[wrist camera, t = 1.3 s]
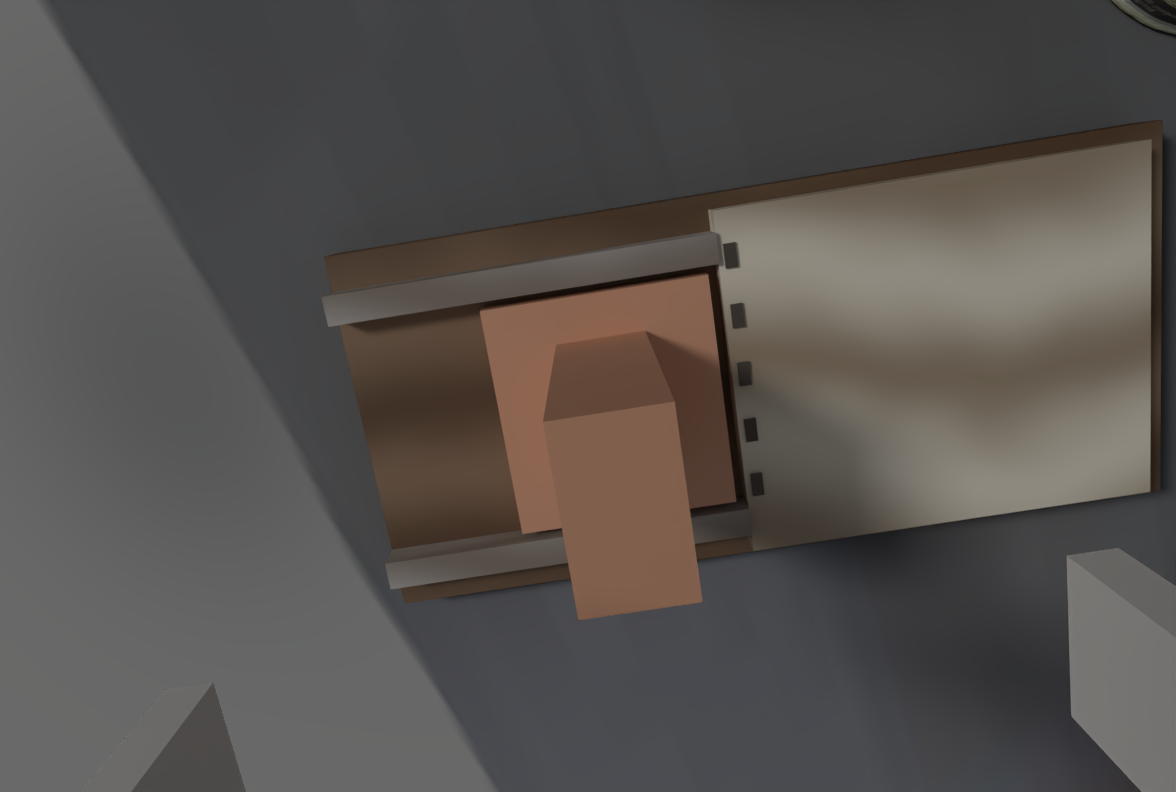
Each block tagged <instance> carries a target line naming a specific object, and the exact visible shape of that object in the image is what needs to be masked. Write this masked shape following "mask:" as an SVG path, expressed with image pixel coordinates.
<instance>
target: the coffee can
mask: <svg viewBox="0 0 1176 792" xmlns="http://www.w3.org/2000/svg"><path fill="white" fill-rule="evenodd" d="M1111 1H1112V2H1113V3H1114V4H1115V5H1116V6H1117V7H1119V8H1120V9H1121V10H1122V11H1124V12H1125V13H1127V14H1128V15H1130V16H1131V17H1132V18H1134V19H1136V20H1137V21H1139V22H1141V23H1142V24H1144V25H1146V26H1149V27H1151V28H1154V29H1156V30H1160V31H1164V32H1167V33H1171V34H1175V35H1176V0H1111Z"/></svg>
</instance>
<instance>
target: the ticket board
mask: <svg viewBox="0 0 1176 792" xmlns="http://www.w3.org/2000/svg"><path fill="white" fill-rule="evenodd" d="M1162 131H1163V120H1157V121H1148V122H1139V123H1131V124H1125V125H1119V126H1113V127H1107V128H1100V129H1094V130H1088V131H1082V132H1076V133H1070V134H1064V135H1058V136H1052V137H1046V138H1039V139H1033V140H1027V141H1021V142H1015V143H1009V144H1003V145H997V146H991V147H984V148H978V149H972V150H966V151H960V152H954V153H948V154H942V155H936V156H929V157H923V158H917V159H911V160H905V161H899V162H893V163H887V164H881V165H874V166H868V167H862V168H856V169H850V170H844V171H838V172H832V173H826V174H820V175H813V176H807V177H801V178H795V179H789V180H783V181H777V182H771V183H765V184H758V185H752V186H746V187H740V188H734V189H728V190H722V191H716V192H710V193H703V194H697V195H691V196H685V197H679V198H673V199H667V200H661V201H655V202H648V203H642V204H636V205H630V206H624V207H618V208H612V209H606V210H600V211H594V212H587V213H581V214H575V215H569V216H563V217H557V218H551V219H545V220H539V221H532V222H526V223H520V224H514V225H508V226H502V227H496V228H490V229H484V230H477V231H471V232H465V233H459V234H453V235H447V236H441V237H435V238H429V239H422V240H416V241H410V242H404V243H398V244H392V245H386V246H380V247H374V248H368V249H361V250H355V251H349V252H343V253H337V254H333V255H330V256H326V257H324V261H325V265H326V269H327V273H328V278H329V282H330V286H331V291H332V293H329V294H327V295H325V296H322V297H321V298H322V302H323V306H324V310H325V315H326V319H327V323H328V327H330V326H337V325H340V329H341V333H342V337H343V342H344V346H345V350H346V355H347V359H348V363H349V367H350V372H351V376H352V380H353V384H354V389H355V393H356V397H357V402H358V406H359V410H360V414H361V419H362V423H363V427H364V431H365V436H366V440H367V444H368V448H369V453H370V457H371V461H372V466H373V470H374V474H375V478H376V483H377V487H378V491H379V495H380V500H381V504H382V508H383V512H384V517H385V521H386V525H387V530H388V534H389V538H390V542H391V547H392V551H391V553H390V555H389V557H388V559H387V561H386V563H385V567H386V571H387V575H388V580H389V584H390V588H391V589H397V588H401V589H402V594H403V598H404V602H405V603H411V602H417V601H424V600H431V599H437V598H444V597H451V596H458V595H464V594H471V593H478V592H484V591H491V590H498V589H505V588H511V587H518V586H525V585H531V584H538V583H545V582H551V581H558V580H565V579H571V576H570V571H569V565H568V559H567V554H566V548H565V543H564V537H563V532H562V528H559V529H553V530H546V531H539V532H533V533H526V534H522V529H521V524H520V519H519V514H518V508H517V503H516V498H515V493H514V488H513V482H512V477H511V472H510V467H509V462H508V456H507V451H506V446H505V441H504V436H503V430H502V425H501V420H500V415H499V410H498V404H497V399H496V394H495V389H494V384H493V378H492V373H491V368H490V363H489V358H488V353H487V347H486V342H485V337H484V332H483V327H482V321H481V316H480V310H481V309H482V308H483V307H487V306H493V305H499V304H505V303H512V302H518V301H524V300H530V299H537V298H543V297H549V296H555V295H561V294H568V293H574V292H580V291H586V290H593V289H599V288H605V287H611V286H617V285H624V284H630V283H636V282H642V281H649V280H655V279H661V278H667V277H674V276H680V275H686V274H692V273H698V272H705V273H707V274H708V277H709V285H710V293H711V301H712V309H713V317H714V325H715V333H716V341H717V349H718V357H719V365H720V373H721V381H722V389H723V397H724V405H725V413H726V421H727V429H728V437H729V445H730V453H731V462H732V470H733V478H734V486H735V494H736V502H731V503H725V504H718V505H711V506H705V507H698V508H691V509H690V515H691V522H692V529H693V536H694V543H695V551H696V558H697V560H699V559H706V558H712V557H719V556H726V555H733V554H739V553H746V552H753V551H759V550H766V549H773V548H780V547H786V546H793V545H800V544H806V543H813V542H820V541H827V540H833V539H840V538H847V537H853V536H860V535H867V534H873V533H880V532H887V531H894V530H900V529H907V528H914V527H920V526H927V525H934V524H941V523H947V522H954V521H961V520H967V519H974V518H981V517H988V516H994V515H1001V514H1008V513H1014V512H1021V511H1028V510H1034V509H1041V508H1048V507H1055V506H1061V505H1068V504H1075V503H1081V502H1088V501H1095V500H1102V499H1108V498H1115V497H1122V496H1128V495H1135V494H1142V493H1149V492H1155V491H1160V440H1161V285H1162Z"/></svg>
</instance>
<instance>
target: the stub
mask: <svg viewBox="0 0 1176 792" xmlns="http://www.w3.org/2000/svg"><path fill="white" fill-rule="evenodd" d="M480 316H481V321H482V327H483V332H484V337H485V342H486V347H487V353H488V358H489V363H490V368H491V373H492V378H493V384H494V389H495V394H496V399H497V404H498V410H499V415H500V420H501V425H502V430H503V436H504V441H505V446H506V451H507V456H508V462H509V467H510V472H511V477H512V482H513V488H514V493H515V498H516V503H517V508H518V514H519V519H520V524H521V529H522V534H526V533H533V532H539V531H546V530H553V529H559V528H562V532H563V537H564V543H565V548H566V554H567V559H568V565H569V571H570V576H571V582H572V587H573V593H574V598H575V604H576V610H577V615H578V620H584V619H591V618H597V617H604V616H611V615H618V614H625V613H631V612H638V611H645V610H652V609H659V608H665V607H672V606H679V605H686V604H693V603H699V602H703V601H702V594H701V587H700V579H699V572H698V565H697V558H696V551H695V543H694V536H693V529H692V522H691V515H690V509H691V508H698V507H705V506H711V505H718V504H725V503H731V502H736V494H735V486H734V478H733V470H732V462H731V453H730V445H729V437H728V429H727V421H726V413H725V405H724V397H723V389H722V381H721V373H720V365H719V357H718V349H717V341H716V333H715V325H714V317H713V309H712V301H711V293H710V285H709V277H708V274H707V273H705V272H698V273H692V274H686V275H680V276H674V277H667V278H661V279H655V280H649V281H642V282H636V283H630V284H624V285H617V286H611V287H605V288H599V289H593V290H586V291H580V292H574V293H568V294H561V295H555V296H549V297H543V298H537V299H530V300H524V301H518V302H512V303H505V304H499V305H493V306H487V307H483V308H482V309H481V310H480Z"/></svg>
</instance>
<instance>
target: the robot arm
mask: <svg viewBox="0 0 1176 792" xmlns="http://www.w3.org/2000/svg"><path fill="white" fill-rule="evenodd" d="M1067 582H1068V618H1069V654H1070V690H1071V716H1072V717H1073V718H1074V720H1075V721H1076V722H1077V723H1078V724H1079V725H1080V726H1081V727H1082V728H1083V729H1084V730H1085V731H1086V732H1087V734H1088V735H1089V736H1090V737H1091V738H1092V739H1093V740H1094V741H1095V742H1096V743H1097V744H1098V745H1099V746H1100V748H1101V749H1102V750H1103V751H1104V752H1105V753H1106V754H1107V755H1108V756H1109V757H1110V758H1111V759H1112V760H1113V762H1114V763H1115V764H1116V765H1117V766H1118V767H1119V768H1120V769H1121V770H1122V771H1123V772H1124V773H1125V774H1126V775H1127V777H1128V778H1129V779H1130V780H1131V781H1132V782H1133V783H1134V784H1135V785H1136V786H1137V787H1138V788H1139V789H1140V791H1141V792H1176V586H1174V585H1173V584H1171V583H1170V582H1168V581H1167V580H1165V579H1164V578H1162V577H1161V576H1159V575H1158V574H1156V573H1155V572H1153V571H1152V570H1150V569H1149V568H1147V567H1146V566H1144V565H1143V564H1141V563H1140V562H1138V561H1137V560H1135V559H1134V558H1132V557H1131V556H1129V555H1128V554H1126V553H1125V552H1123V551H1122V550H1120V549H1119V548H1115V549H1109V550H1102V551H1095V552H1088V553H1082V554H1075V555H1068V556H1067ZM80 792H246V791H245V788H244V784H243V781H242V777H241V774H240V771H239V767H238V764H237V761H236V757H235V754H234V751H233V747H232V744H231V741H230V737H229V734H228V731H227V727H226V724H225V721H224V717H223V714H222V710H221V707H220V704H219V700H218V697H217V694H216V690H215V687H214V684H213V683H207V684H200V685H193V686H187V687H180V688H173V689H166V690H164V692H163V693H162V694H161V695H160V696H159V698H158V699H157V700H156V701H155V702H154V703H153V705H152V706H151V707H150V708H149V710H148V711H147V712H146V713H145V714H144V715H143V717H142V718H141V719H140V720H139V721H138V723H137V724H136V725H135V726H134V727H133V729H132V730H131V731H130V732H129V733H128V735H127V736H126V737H125V738H124V739H123V741H122V742H121V743H120V744H119V745H118V747H117V748H116V749H115V750H114V751H113V753H112V754H111V755H110V756H109V757H108V759H107V760H106V761H105V762H104V763H103V764H102V766H101V767H100V768H99V769H98V770H97V772H96V773H95V774H94V775H93V776H92V778H91V779H90V780H89V781H88V782H87V784H86V785H85V786H84V787H83V788H82V790H81V791H80Z"/></svg>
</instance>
